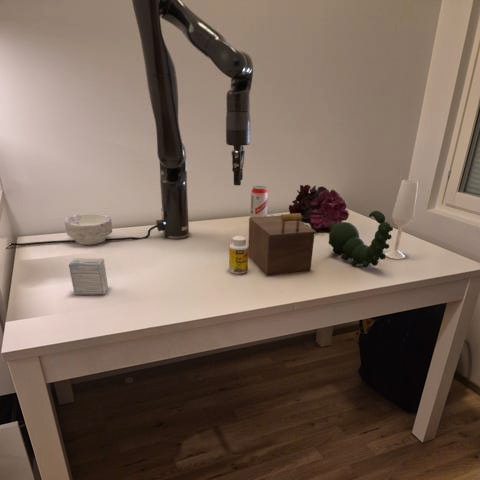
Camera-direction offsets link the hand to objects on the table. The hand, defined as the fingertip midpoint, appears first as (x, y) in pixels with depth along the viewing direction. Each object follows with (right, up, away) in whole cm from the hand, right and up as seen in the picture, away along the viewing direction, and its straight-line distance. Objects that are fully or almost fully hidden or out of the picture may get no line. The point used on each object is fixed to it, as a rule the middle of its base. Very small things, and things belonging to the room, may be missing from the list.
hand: (238, 182), depth 136 cm
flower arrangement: (+33, -5, +38) cm, 50 cm away
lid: (+13, -17, -10) cm, 23 cm away
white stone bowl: (-52, -17, +12) cm, 56 cm away
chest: (+13, -27, -4) cm, 30 cm away
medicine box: (-39, -37, -25) cm, 59 cm away
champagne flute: (+53, -23, +4) cm, 58 cm away
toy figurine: (+37, -26, -1) cm, 45 cm away
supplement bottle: (0, -30, -10) cm, 32 cm away
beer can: (+8, -10, +28) cm, 30 cm away
